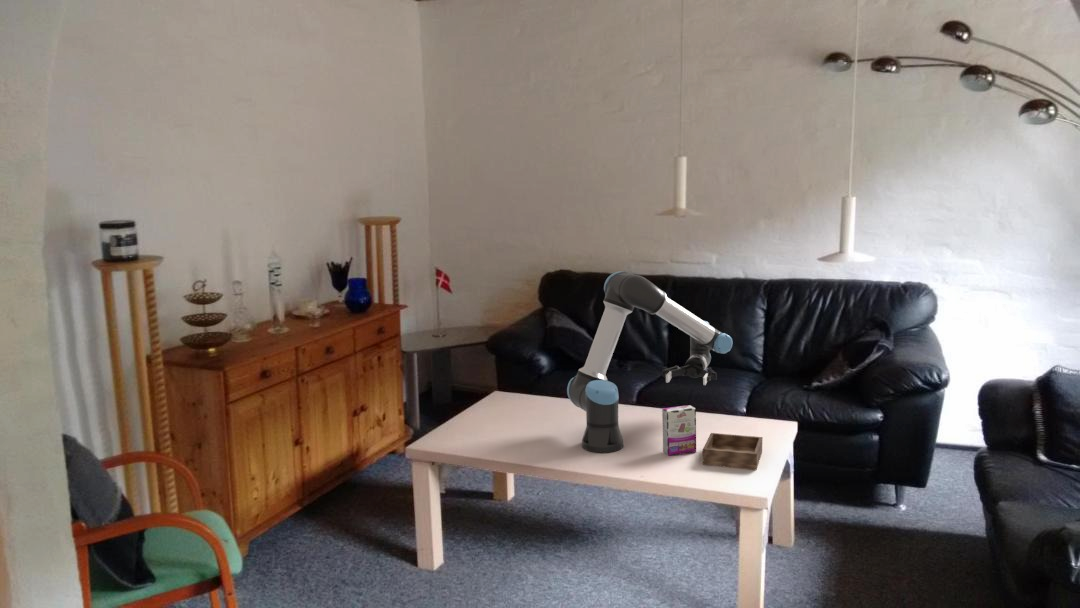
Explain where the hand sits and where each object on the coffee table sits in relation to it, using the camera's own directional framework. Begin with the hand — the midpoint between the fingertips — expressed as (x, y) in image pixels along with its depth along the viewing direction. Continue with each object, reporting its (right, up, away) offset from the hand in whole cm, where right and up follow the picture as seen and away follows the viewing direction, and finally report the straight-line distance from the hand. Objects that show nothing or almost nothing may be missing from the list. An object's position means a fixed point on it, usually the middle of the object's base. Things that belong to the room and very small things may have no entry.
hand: (685, 380), depth 313 cm
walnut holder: (+14, -26, -13) cm, 32 cm away
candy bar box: (-3, -25, -6) cm, 26 cm away
